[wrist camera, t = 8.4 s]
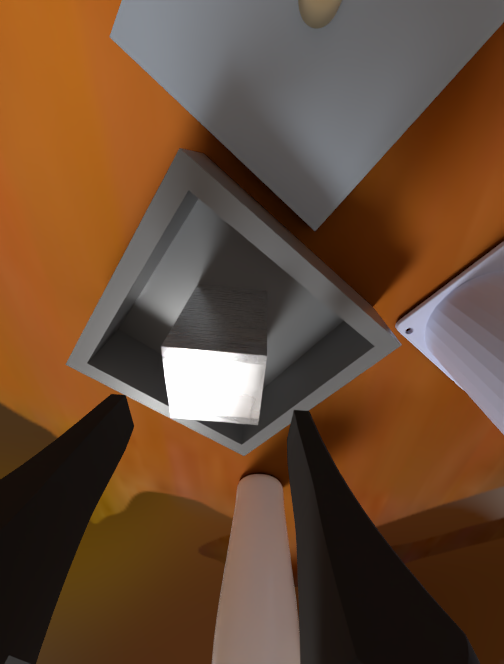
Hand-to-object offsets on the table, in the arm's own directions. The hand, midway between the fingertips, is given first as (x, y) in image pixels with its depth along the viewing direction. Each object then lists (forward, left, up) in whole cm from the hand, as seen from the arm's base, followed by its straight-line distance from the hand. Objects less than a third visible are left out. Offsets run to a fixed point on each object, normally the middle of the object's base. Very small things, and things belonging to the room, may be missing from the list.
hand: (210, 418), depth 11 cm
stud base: (+6, -14, -9) cm, 18 cm away
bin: (0, 0, -9) cm, 9 cm away
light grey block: (0, 0, -9) cm, 9 cm away
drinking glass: (-16, +16, -9) cm, 24 cm away
